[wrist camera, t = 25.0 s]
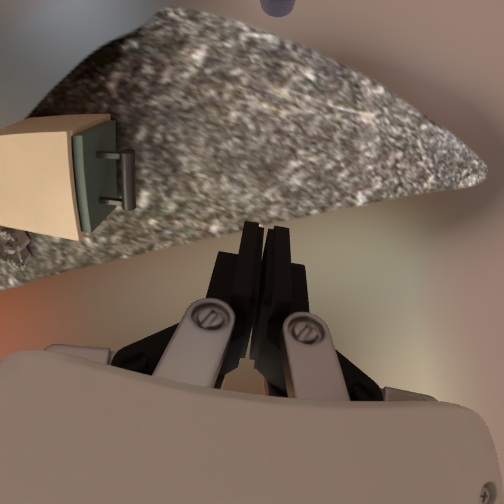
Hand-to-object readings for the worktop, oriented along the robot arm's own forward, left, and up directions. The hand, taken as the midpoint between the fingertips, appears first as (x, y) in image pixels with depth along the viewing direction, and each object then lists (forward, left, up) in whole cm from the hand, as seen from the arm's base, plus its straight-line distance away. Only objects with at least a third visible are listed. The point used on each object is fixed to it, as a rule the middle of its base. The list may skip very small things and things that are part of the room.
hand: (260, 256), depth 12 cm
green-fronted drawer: (+1, -21, -20) cm, 29 cm away
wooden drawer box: (0, -25, -21) cm, 32 cm away
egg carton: (+11, -43, -21) cm, 49 cm away
